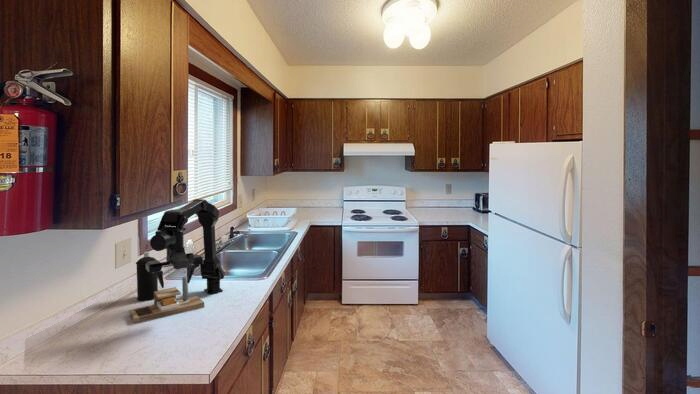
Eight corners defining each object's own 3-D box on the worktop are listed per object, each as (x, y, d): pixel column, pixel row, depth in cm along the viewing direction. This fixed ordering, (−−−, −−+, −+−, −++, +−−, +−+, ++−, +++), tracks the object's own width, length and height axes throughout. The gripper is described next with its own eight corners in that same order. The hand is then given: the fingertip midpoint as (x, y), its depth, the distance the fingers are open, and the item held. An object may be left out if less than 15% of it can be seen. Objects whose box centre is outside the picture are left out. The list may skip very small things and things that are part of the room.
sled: (156, 305, 144) (156, 279, 142) (185, 299, 151) (185, 274, 150) (161, 310, 139) (160, 284, 138) (190, 304, 146) (190, 279, 145)
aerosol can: (157, 299, 154) (156, 254, 152) (135, 302, 151) (133, 255, 149) (159, 293, 162) (158, 249, 160) (138, 295, 159) (137, 250, 157)
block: (161, 305, 143) (161, 296, 143) (172, 303, 146) (171, 293, 146) (164, 309, 140) (163, 299, 140) (175, 306, 143) (174, 296, 143)
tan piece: (129, 314, 139) (128, 295, 138) (196, 299, 155) (196, 282, 155) (134, 323, 132) (133, 303, 131) (204, 307, 148) (204, 289, 147)
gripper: (152, 252, 122) (153, 297, 123) (208, 245, 134) (208, 286, 136) (144, 246, 130) (145, 288, 131) (198, 239, 142) (198, 278, 144)
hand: (175, 285), depth 135 cm, fingers open, 9 cm apart
